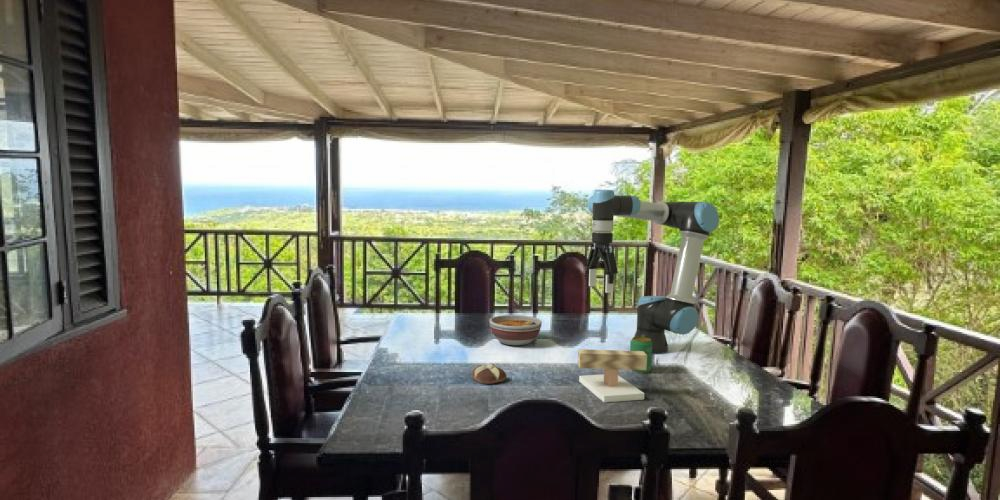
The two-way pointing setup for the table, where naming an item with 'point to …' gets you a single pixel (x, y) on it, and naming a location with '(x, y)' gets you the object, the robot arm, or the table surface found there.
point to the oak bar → (612, 359)
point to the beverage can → (642, 345)
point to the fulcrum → (611, 387)
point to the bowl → (515, 329)
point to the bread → (488, 374)
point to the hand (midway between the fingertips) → (600, 289)
